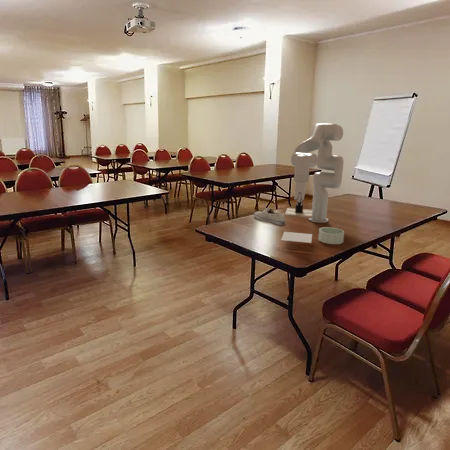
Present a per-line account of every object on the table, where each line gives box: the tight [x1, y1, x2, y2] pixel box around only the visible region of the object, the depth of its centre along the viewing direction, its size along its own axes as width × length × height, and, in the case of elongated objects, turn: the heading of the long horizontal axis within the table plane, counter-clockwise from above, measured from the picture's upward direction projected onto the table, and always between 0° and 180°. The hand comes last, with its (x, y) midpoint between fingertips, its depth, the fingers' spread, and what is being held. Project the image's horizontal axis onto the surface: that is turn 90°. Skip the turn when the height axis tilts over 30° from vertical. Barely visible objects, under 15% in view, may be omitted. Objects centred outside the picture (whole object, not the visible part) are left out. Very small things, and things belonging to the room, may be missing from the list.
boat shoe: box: [253, 207, 286, 226], centre depth 239 cm, size 25×9×9 cm, turn 38°
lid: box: [284, 202, 313, 219], centre depth 201 cm, size 14×14×6 cm
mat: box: [280, 231, 313, 244], centre depth 205 cm, size 16×16×1 cm
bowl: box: [318, 226, 345, 245], centre depth 200 cm, size 13×13×6 cm
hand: (299, 211), depth 201 cm, fingers closed on lid, 4 cm apart
